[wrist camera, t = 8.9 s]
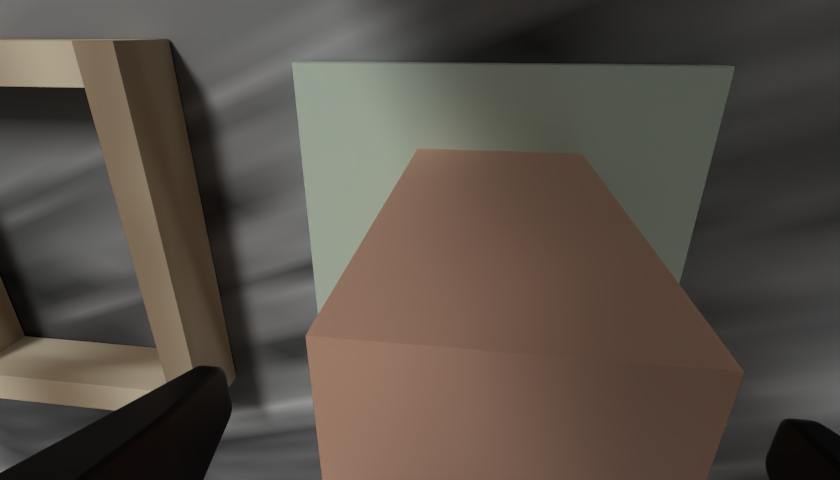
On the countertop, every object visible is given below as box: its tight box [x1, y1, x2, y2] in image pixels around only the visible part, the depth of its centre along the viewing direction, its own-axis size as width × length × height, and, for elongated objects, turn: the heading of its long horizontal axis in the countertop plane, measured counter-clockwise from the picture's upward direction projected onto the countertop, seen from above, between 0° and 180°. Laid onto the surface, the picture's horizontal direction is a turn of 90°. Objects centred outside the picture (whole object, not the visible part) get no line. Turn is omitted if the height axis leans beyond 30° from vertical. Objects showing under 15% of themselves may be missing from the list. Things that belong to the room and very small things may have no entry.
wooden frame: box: [0, 39, 236, 410], centre depth 14 cm, size 9×11×2 cm
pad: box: [292, 61, 735, 314], centre depth 13 cm, size 10×10×1 cm
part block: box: [306, 148, 745, 480], centre depth 9 cm, size 4×6×8 cm, turn 0°
